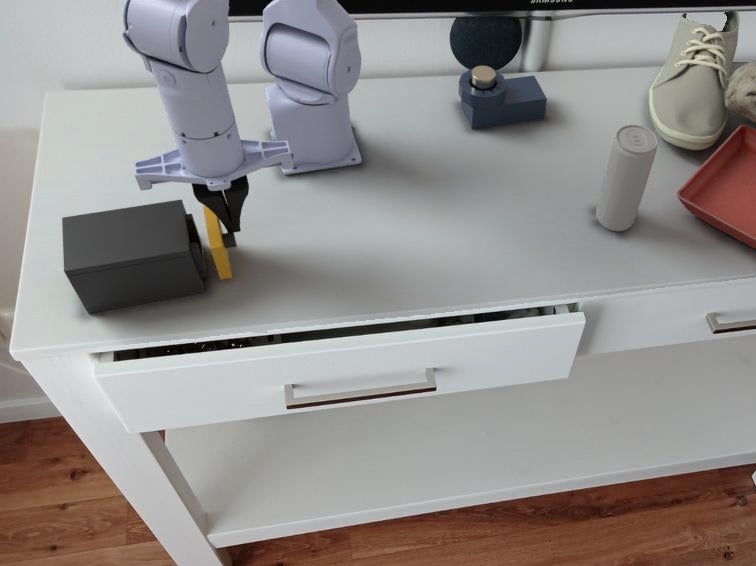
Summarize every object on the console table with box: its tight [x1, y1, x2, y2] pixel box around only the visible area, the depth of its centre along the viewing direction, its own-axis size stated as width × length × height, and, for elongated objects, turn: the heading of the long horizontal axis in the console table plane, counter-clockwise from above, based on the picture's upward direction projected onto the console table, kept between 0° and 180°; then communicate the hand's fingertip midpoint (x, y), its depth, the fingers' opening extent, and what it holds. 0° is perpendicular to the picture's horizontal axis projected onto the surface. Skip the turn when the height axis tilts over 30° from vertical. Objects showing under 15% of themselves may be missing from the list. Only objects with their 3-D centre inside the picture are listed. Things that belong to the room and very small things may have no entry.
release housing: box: [458, 68, 548, 130], centre depth 100 cm, size 11×6×5 cm, turn 109°
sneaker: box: [648, 10, 740, 151], centre depth 105 cm, size 11×29×8 cm, turn 165°
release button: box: [471, 65, 496, 91], centre depth 97 cm, size 3×3×2 cm
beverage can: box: [595, 124, 659, 232], centre depth 88 cm, size 5×5×12 cm
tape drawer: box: [185, 205, 238, 280], centre depth 80 cm, size 12×6×5 cm, turn 109°
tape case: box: [61, 199, 206, 315], centre depth 79 cm, size 11×7×6 cm, turn 109°
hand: (233, 226), depth 83 cm, fingers closed
